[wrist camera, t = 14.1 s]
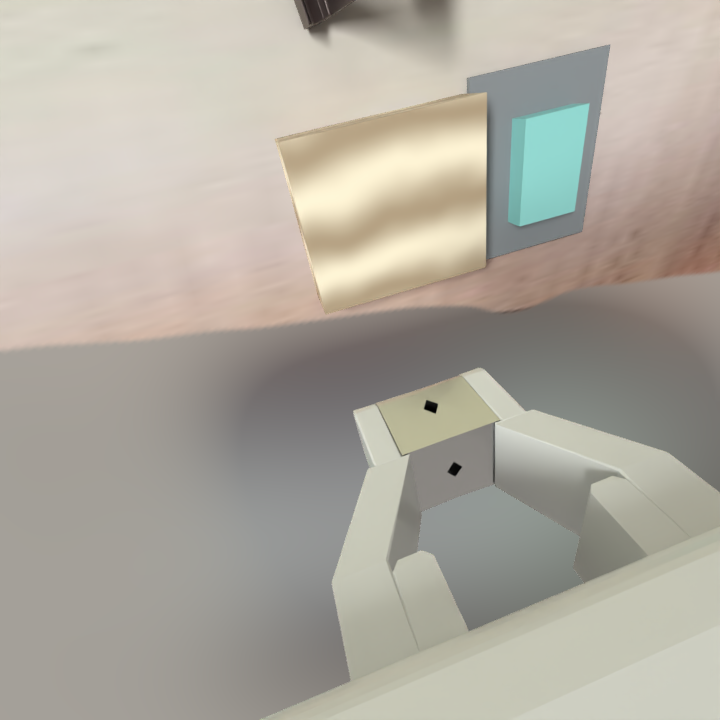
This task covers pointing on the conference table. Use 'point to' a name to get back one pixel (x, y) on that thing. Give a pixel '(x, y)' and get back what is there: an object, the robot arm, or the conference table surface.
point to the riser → (391, 198)
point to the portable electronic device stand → (318, 10)
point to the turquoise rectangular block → (546, 163)
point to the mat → (527, 96)
